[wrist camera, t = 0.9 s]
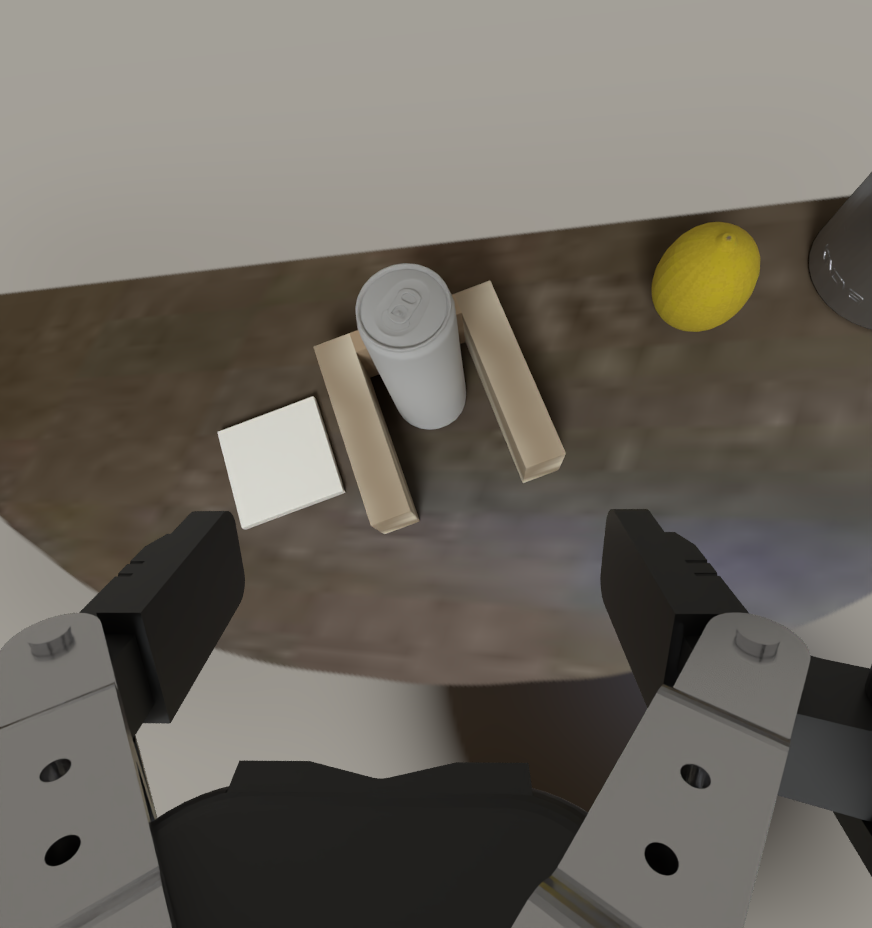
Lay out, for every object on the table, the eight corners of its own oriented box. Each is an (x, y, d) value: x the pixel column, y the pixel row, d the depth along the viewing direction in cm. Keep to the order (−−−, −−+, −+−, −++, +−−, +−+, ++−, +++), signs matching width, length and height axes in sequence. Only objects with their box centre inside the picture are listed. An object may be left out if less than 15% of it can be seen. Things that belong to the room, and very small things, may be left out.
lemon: (672, 262, 38) (716, 175, 30) (742, 308, 37) (807, 229, 29) (621, 319, 37) (653, 245, 30) (690, 368, 36) (743, 304, 28)
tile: (316, 399, 38) (313, 396, 38) (345, 492, 36) (342, 490, 36) (221, 434, 38) (217, 432, 38) (246, 529, 37) (242, 528, 36)
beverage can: (383, 410, 38) (332, 324, 26) (420, 353, 38) (387, 244, 27) (443, 445, 37) (419, 371, 25) (481, 385, 37) (473, 286, 26)
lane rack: (490, 312, 39) (490, 280, 35) (558, 470, 35) (565, 453, 31) (331, 372, 39) (313, 346, 35) (384, 534, 36) (370, 525, 32)
